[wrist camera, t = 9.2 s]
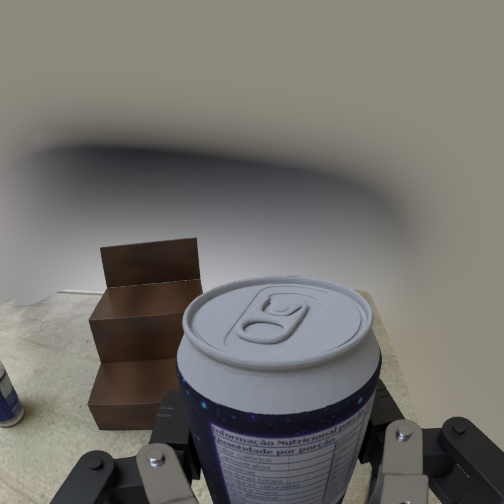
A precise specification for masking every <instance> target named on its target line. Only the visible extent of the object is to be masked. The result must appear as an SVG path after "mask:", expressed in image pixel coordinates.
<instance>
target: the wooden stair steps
mask: <svg viewBox="0 0 504 504" xmlns="http://www.w3.org/2000/svg"><path fill="white" fill-rule="evenodd" d="M100 251H101V257H102V262H103V268H104V274H105V280H106V285H107V289H106V291H105V293H104V294H103V296H102V298H101V299H100V301H99V303H98V304H97V306H96V308H95V310H94V311H93V313H92V315H91V317H90V318H89V324H90V327H91V331H92V334H93V338H94V341H95V345H96V348H97V351H98V354H99V358H100V361H101V365H100V368H99V370H98V373H97V376H96V379H95V382H94V385H93V389H92V392H91V395H90V398H89V401H88V407H89V409H90V411H91V413H92V415H93V417H94V420H95V422H96V424H97V426H98V428H99V430H145V429H153V427H154V424H155V420H156V417H157V413H158V410H159V407H160V403H161V400H162V398H163V396H164V395H165V394H166V393H167V392H168V391H169V390H178V389H179V383H178V378H177V374H176V368H175V360H176V355H177V351H178V348H179V346H180V343H181V341H182V338H183V336H184V329H183V316H184V313H185V310H186V309H187V307H188V306H189V304H190V303H191V302H192V301H193V300H195V299H196V298H197V297H198V296H200V295H201V294H203V291H202V285H201V279H200V269H199V259H198V248H197V238H185V239H175V240H165V241H155V242H146V243H136V244H127V245H117V246H108V247H101V248H100ZM194 279H197V280H194ZM184 280H187V281H184ZM174 281H177V282H174ZM164 282H167V283H164ZM154 283H157V284H154ZM143 284H147V285H143ZM133 285H136V286H133ZM122 286H125V287H122ZM111 287H114V288H111Z"/></svg>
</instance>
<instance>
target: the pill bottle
mask: <svg viewBox="0 0 504 504" xmlns="http://www.w3.org/2000/svg"><path fill="white" fill-rule="evenodd" d="M23 413H24V408H23V405H22V403H21V401H20V399H19V397H18V395H17V393H16V391H15V389H14V387H13V385H12V383H11V381H10V379H9V377H8V374H7V372H6V370H5V368H4V366H3V364H2V362H1V361H0V426H2V427H8V426H12V425H14V424H16V423H17V422H18V421H19V420H20V419H21V418H22V416H23Z"/></svg>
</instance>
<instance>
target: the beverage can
mask: <svg viewBox="0 0 504 504" xmlns="http://www.w3.org/2000/svg"><path fill="white" fill-rule="evenodd" d="M372 325H373V311H372V308H371V306H370V304H369V303H368V301H367V300H366V299H365V298H364V297H363V296H362V295H360V294H359V293H357V292H356V291H354V290H352V289H350V288H348V287H346V286H344V285H341V284H338V283H334V282H331V281H327V280H322V279H316V278H310V277H300V276H269V277H257V278H250V279H245V280H239V281H235V282H231V283H228V284H225V285H221V286H218V287H216V288H213V289H211V290H209V291H207V292H205V293H203V294H201V295H200V296H198V297H197V298H196V299H195V300H193V301H192V302H191V303H190V304H189V306H188V307H187V309H186V310H185V313H184V316H183V329H184V336H183V338H182V341H181V343H180V346H179V348H178V351H177V355H176V360H175V368H176V374H177V378H178V383H179V387H180V391H181V395H182V399H183V403H184V407H185V411H186V415H187V419H188V423H189V427H190V430H191V434H192V437H193V441H194V444H195V448H196V451H197V455H198V458H199V461H200V465H201V468H202V471H203V474H204V477H205V480H206V483H207V486H208V489H209V492H210V495H211V498H212V501H213V504H341V503H342V501H343V498H344V496H345V493H346V490H347V488H348V485H349V482H350V479H351V476H352V474H353V471H354V468H355V465H356V462H357V459H358V455H359V452H360V449H361V446H362V442H363V439H364V436H365V432H366V428H367V425H368V421H369V417H370V413H371V410H372V406H373V401H374V397H375V393H376V389H377V384H378V380H379V375H380V370H381V364H382V355H381V351H380V347H379V344H378V342H377V339H376V337H375V334H374V332H373V330H372Z"/></svg>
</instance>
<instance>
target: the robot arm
mask: <svg viewBox="0 0 504 504" xmlns="http://www.w3.org/2000/svg"><path fill="white" fill-rule="evenodd" d="M358 458H359V461H360V463H361V464H364V463H368V462H370V464H371V466H372V469H371V471H370V475H369V481H368V486H367V492H366V497H365V502H364V504H428V487H429V488H430V489H431V490H432V492H433V493H434V494H435V495H436V497H437V498H438V499H439V500H440V502H441V503H442V504H504V452H503V451H502V450H501V449H499V448H498V447H497V446H496V445H495V444H494V443H493V442H492V441H491V440H490V439H489V438H488V437H487V436H486V435H485V434H484V433H482V432H481V431H480V430H479V429H478V428H477V427H476V426H475V425H474V424H473V423H472V422H471V421H469V420H468V419H466V418H463V417H453V418H450V419H448V420H446V421H445V423H444V424H443V426H442V428H431V429H422V428H420V426H419V425H418V424H417V423H415V422H413V421H411V420H406V419H405V418H404V416H403V415H402V413H401V411H400V410H399V408H398V406H397V405H396V403H395V401H394V400H393V398H392V396H390V393H389V392H388V390H386V387H385V385H384V383H383V382H382V380H381V379H379V380H378V384H377V389H376V393H375V397H374V401H373V406H372V410H371V413H370V417H369V421H368V425H367V428H366V432H365V436H364V439H363V442H362V446H361V449H360V452H359V455H358ZM457 464H458V465H459V466H460V467H461V468H462V469H461V468H460V467H459V466H458V465H457ZM464 472H465V473H464ZM200 473H201V465H200V461H199V458H198V455H197V451H196V448H195V444H194V441H193V437H192V434H191V430H190V427H189V423H188V419H187V415H186V411H185V407H184V403H183V399H182V395H181V391H180V387H179V389H178V390H169V391H168V392H167V393H166V394H165V395H164V396H163V398H162V400H161V403H160V407H159V410H158V413H157V417H156V420H155V424H154V427H153V431H152V435H151V438H150V442H149V445H146V446H145V447H143V448H142V449H140V451H139V452H138V454H137V455H136V456H133V457H127V458H120V459H113V458H112V456H111V455H110V454H108V453H107V452H104V451H99V450H95V451H90V452H88V453H86V454H84V455H83V456H82V457H81V458H80V459H79V461H78V462H77V464H76V465H75V467H74V468H73V470H72V471H71V472H70V474H69V475H68V477H67V478H66V480H65V481H64V483H63V484H62V486H61V487H60V489H59V490H58V492H57V493H56V495H55V496H54V498H53V499H52V501H51V502H50V504H199V502H198V500H197V498H196V496H195V495H194V493H193V491H192V489H191V484H192V480H200ZM466 474H467V475H468V476H469V477H470V478H469V477H468V476H467V475H466Z"/></svg>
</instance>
